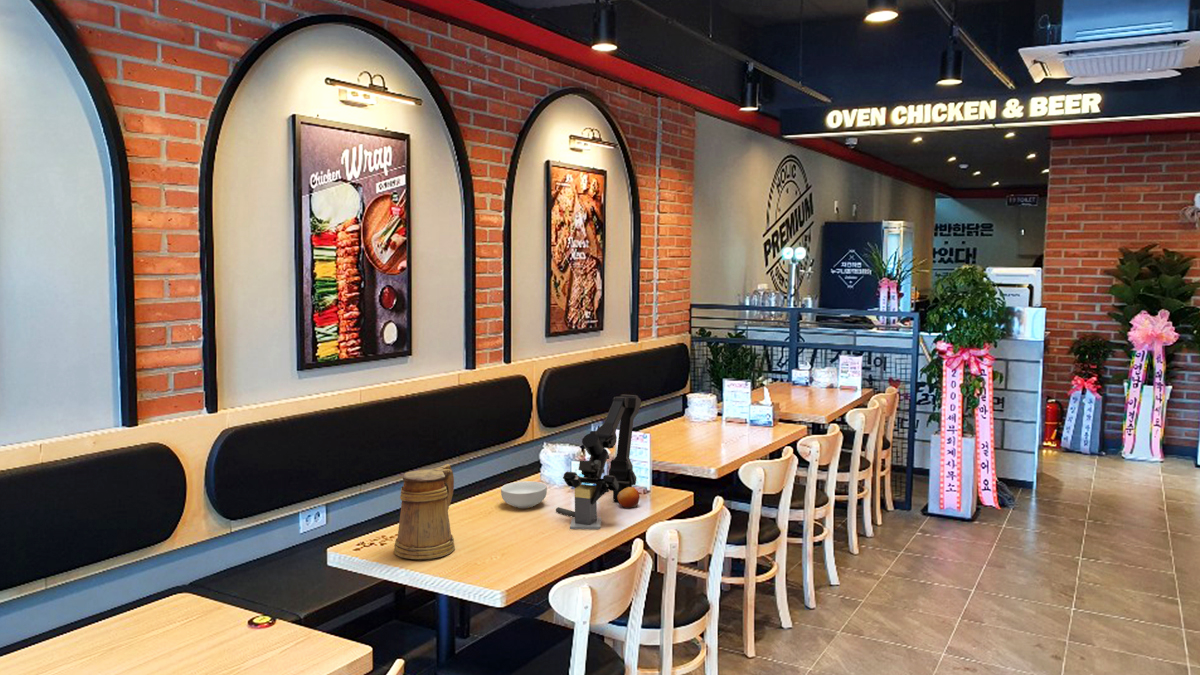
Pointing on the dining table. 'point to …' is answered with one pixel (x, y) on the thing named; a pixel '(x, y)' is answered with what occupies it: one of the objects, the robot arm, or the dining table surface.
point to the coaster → (581, 526)
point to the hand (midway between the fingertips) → (584, 503)
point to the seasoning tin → (585, 505)
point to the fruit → (628, 497)
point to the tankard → (425, 514)
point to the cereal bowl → (524, 493)
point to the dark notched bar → (565, 511)
